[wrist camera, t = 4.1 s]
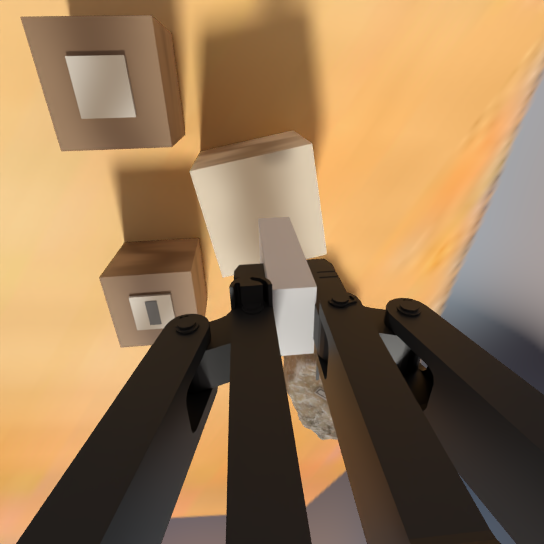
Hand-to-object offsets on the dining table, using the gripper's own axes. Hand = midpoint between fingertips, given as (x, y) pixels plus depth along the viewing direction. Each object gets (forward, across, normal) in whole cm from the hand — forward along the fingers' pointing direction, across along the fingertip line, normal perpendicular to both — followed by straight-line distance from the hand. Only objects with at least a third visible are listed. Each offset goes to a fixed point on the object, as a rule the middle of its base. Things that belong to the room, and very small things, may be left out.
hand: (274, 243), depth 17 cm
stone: (+12, +6, -18) cm, 22 cm away
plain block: (+11, 0, 0) cm, 11 cm away
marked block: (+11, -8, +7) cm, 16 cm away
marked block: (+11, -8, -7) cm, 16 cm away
